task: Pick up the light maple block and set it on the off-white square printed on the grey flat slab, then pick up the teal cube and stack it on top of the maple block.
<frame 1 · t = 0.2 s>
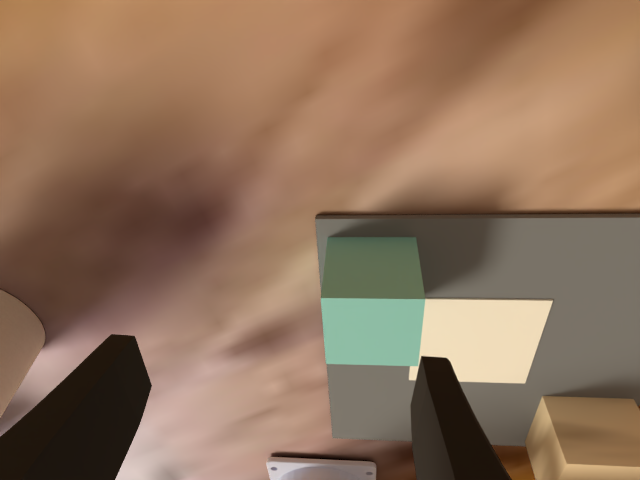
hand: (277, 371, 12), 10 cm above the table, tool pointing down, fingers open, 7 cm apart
teal cube: (371, 270, 22), resting on grey flat slab
grey flat slab: (489, 350, 25), on the table
maple block: (575, 421, 28), resting on grey flat slab
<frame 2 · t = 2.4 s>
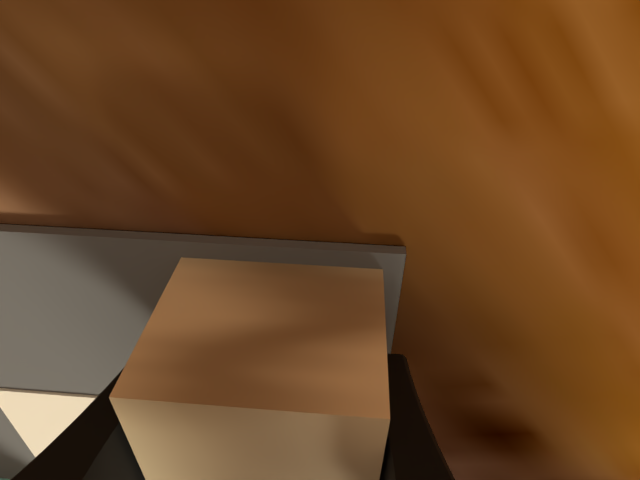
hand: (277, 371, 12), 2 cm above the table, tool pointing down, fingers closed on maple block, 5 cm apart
grey flat slab: (130, 425, 17), on the table
maple block: (284, 332, 13), resting on grey flat slab, touching gripper
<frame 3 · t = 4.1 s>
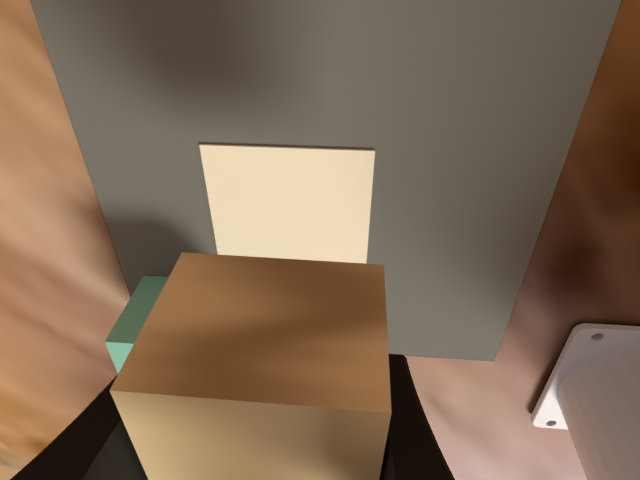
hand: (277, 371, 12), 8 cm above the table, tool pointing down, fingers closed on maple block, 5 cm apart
teal cube: (193, 308, 22), resting on grey flat slab
grey flat slab: (314, 196, 18), on the table
maple block: (285, 328, 13), point 7 cm above the table, touching gripper
when the fingers open (3 cm above the table, at t = 5.9 s): maple block stays where it is, resting on grey flat slab.
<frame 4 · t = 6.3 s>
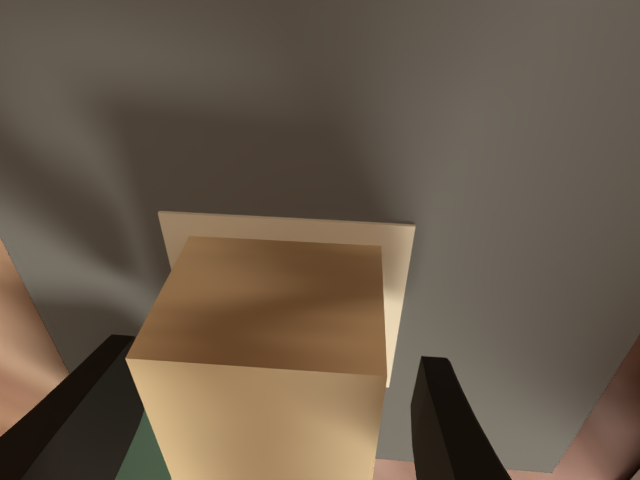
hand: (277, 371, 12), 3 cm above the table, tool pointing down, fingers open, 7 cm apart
teal cube: (160, 405, 17), resting on grey flat slab
grey flat slab: (324, 279, 13), on the table
maple block: (287, 309, 13), resting on grey flat slab
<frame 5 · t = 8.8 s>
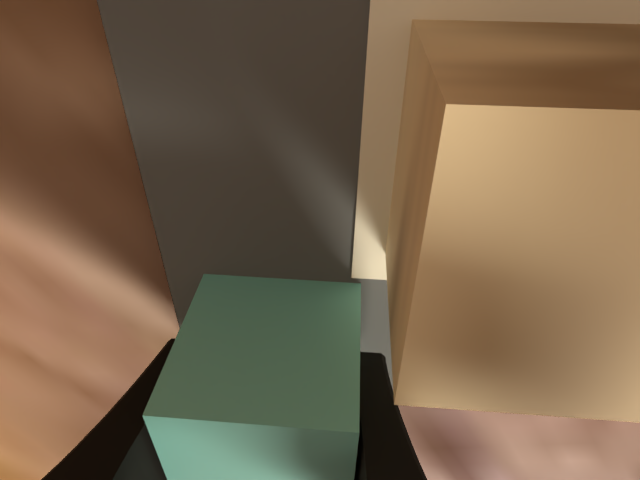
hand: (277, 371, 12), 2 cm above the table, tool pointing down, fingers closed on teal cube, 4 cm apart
teal cube: (284, 332, 13), resting on grey flat slab, touching gripper
grey flat slab: (586, 110, 9), on the table
maple block: (524, 160, 9), resting on grey flat slab
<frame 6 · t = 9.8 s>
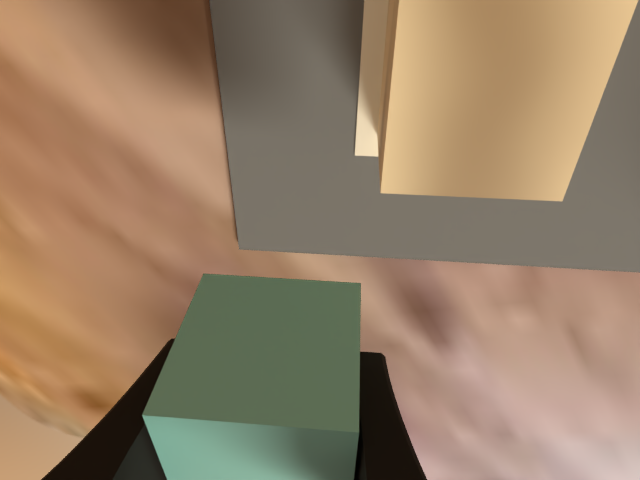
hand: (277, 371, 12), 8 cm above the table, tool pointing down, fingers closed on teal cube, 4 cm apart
teal cube: (284, 332, 13), point 7 cm above the table, touching gripper
grey flat slab: (499, 31, 14), on the table
maple block: (462, 64, 14), resting on grey flat slab
when the fingers open (6 cm above the table, at t = 11.2 s): teal cube stays where it is, resting on maple block.
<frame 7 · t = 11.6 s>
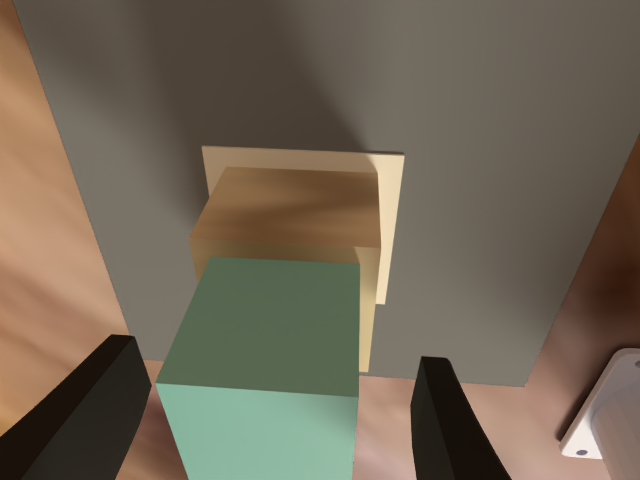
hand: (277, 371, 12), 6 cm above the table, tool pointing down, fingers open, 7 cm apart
teal cube: (287, 313, 13), point 4 cm above the table, touching maple block
grey flat slab: (332, 206, 16), on the table
maple block: (302, 231, 16), resting on grey flat slab, touching teal cube
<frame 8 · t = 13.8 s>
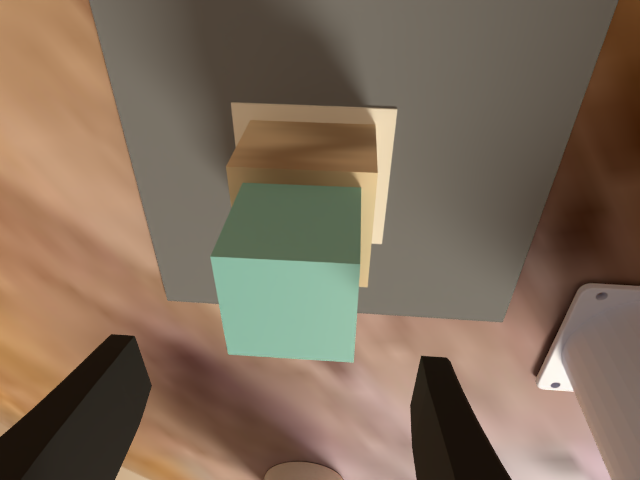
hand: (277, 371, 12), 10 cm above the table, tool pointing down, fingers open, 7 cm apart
teal cube: (302, 233, 16), point 4 cm above the table, touching maple block
coffee cup: (304, 479, 37), on the table
grey flat slab: (337, 155, 19), on the table
maple block: (312, 177, 20), resting on grey flat slab, touching teal cube
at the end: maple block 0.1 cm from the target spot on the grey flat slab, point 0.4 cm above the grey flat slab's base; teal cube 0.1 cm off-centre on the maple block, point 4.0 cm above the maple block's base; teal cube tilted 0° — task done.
